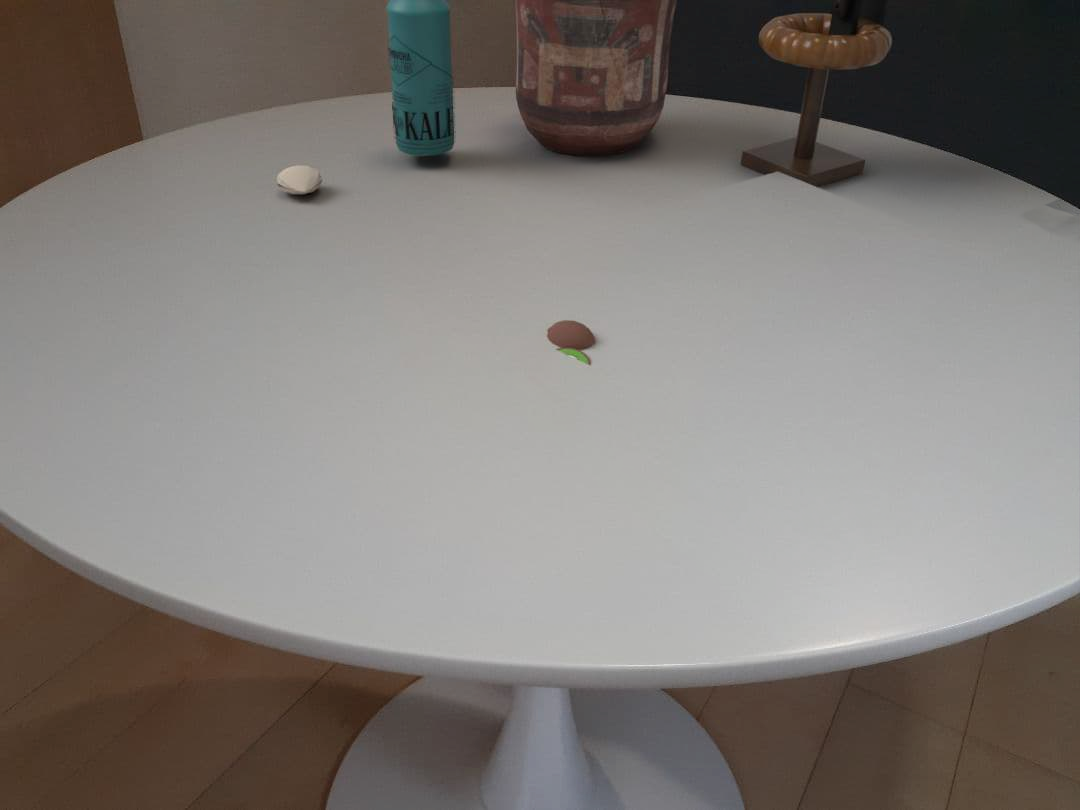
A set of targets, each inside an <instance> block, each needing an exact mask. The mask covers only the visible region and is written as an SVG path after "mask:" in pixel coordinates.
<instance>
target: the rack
mask: <svg viewBox="0 0 1080 810" xmlns="http://www.w3.org/2000/svg"><path fill="white" fill-rule="evenodd" d="M807 68H808V69H807V74H806V79H805V80H806V81H805V86H804V93H803V98H802V104H801V109H800V117H799V121H798V127H797V133H796V137H792V138H788V139H784V140H781V141H777V142H772V143H769V144H765V145H762V146H758V147H757V146H756V147H753V148H749V149H746V150H742V152H741V159H740V165H741V166H743V167H745V168H748V169H751V170H754V171H755V172H758V173H760V174H763V175H770V174H773V173H777V172H778V173H780V174H783V175H785V176H788V177H789V178H794V179H796V180H798V181H800V182H803V183H805V184H808V185H810V186H813V187H815V188H818V187H822V186H824V185H828V184H831V183H835V182H838V181H841V180H845V179H848V178H851V177H854V176H855V177H856V176H858V175H861V174H863V173H864V169H865V165H866V164H865V163H866V159H865V158H862V157H859V156H857V155H855V154H851V153H848V152H845V151H843V150H839V149H837V148H835V147H831V146H829V145H826V144H823V143H820V142H818V141H817V138H818V133H819V128H820V123H821V115H822V112H823V111H822V110H823V104H824V100H825V94H826V89H827V83H828V78H829V72H830V69H818V68H810V67H807Z"/></svg>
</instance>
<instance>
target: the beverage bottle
mask: <svg viewBox="0 0 1080 810" xmlns="http://www.w3.org/2000/svg"><path fill="white" fill-rule="evenodd" d="M450 13H451V6H450V4H449V3H448V2H447V1H446V0H389V2H388V3H387V5H386V14H387V26H388V41H387V43H388V46H387V52H388V56H389V58H388V63H389V64H390V65H389V66H388V67H389V68H388V69H389V71H390V72H389V75H390V76H391V77H390V78H391V87H392V88H391V95H392V97H391V99H392V101H391V102H392V103H391V110H392V123H393V124H392V125H393V127H392V128H394V135H393V136H394V137H393V139H394V143H395V144H396V146H397V149H398V151H399V152H401V153H404V154H406V155H410V156H418V157H428V156H437V155H442V154H446V153H448V152H450V151H451V150H453V148H454V145H455V142H456V140H457V139H456V138H455V137H456V133H457V132H456V123H455V122H456V119H455V116H456V113H455V112H454V109H456V107H455V105H456V104H455V101H454V99H455V96H454V93H455V90H454V84H455V81H453V80H455V79H454V77H453V72H452V71H453V70H452V69H453V68H452V43H451V40H452V39H451V15H450Z"/></svg>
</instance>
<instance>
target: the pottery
mask: <svg viewBox="0 0 1080 810" xmlns="http://www.w3.org/2000/svg"><path fill="white" fill-rule="evenodd" d="M676 5H677V0H514V8H515V39H516V40H515V41H516V43H515V44H516V45H515V46H516V48H515V49H516V51H515V82H514V83H515V84H514V85H515V86H514V87H515V100H516V104H517V108H518V111H519V114H520V116H521V119H522V121H523V122H524V125H525V127H526V130H527V131H528V132H529V134H531V136H532V137H533V138H534V139H535V140H536V141H537V142H538V143H539V142H540V143H541V144H540V143H539V144H540V145H541V146H543V145H544V146H545V147H544V146H543V147H544V148H546V147H548V148H550V149H549V150H551V149H552V150H551V151H553V150H554V151H553V152H556V151H559V152H558V153H561V152H563V153H562V154H565V153H566V154H565V155H569V154H571V155H570V156H582V157H598V156H599V157H604V156H605V157H606V156H610V155H616V154H621V153H624V152H626V151H627V152H628V151H629V150H632V149H633V148H635V146H637V145H638V144H639V143H640V142H641V141H642V140H644V139H645V137H647V136H648V135H649V134H650V133H652V131H653V129H654V127H655V126H656V124H657V122H658V121H659V119H660V117H661V115H662V112H663V109H664V105H665V100H666V93H667V88H668V78H669V77H668V76H669V75H668V74H669V58H670V45H671V44H670V43H671V38H672V30H673V23H674V16H675V10H676ZM548 148H547V149H548Z"/></svg>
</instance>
